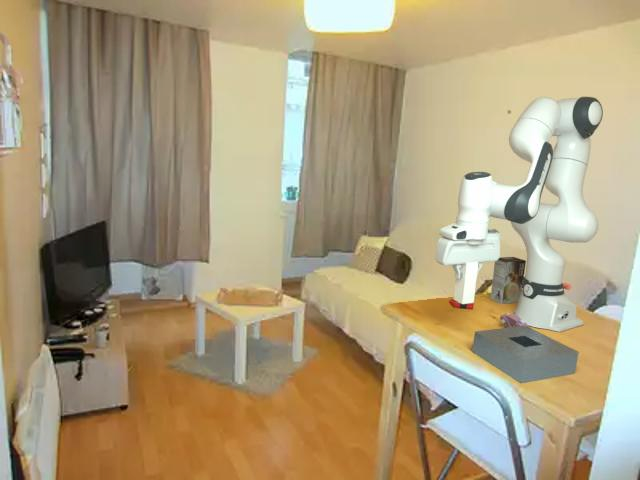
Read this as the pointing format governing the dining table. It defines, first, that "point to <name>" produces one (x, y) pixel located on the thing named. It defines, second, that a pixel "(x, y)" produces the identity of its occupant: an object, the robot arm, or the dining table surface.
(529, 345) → the socket block
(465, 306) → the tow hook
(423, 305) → the dining table surface
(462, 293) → the peg
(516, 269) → the coffee box
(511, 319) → the video game controller
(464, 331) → the dining table surface
